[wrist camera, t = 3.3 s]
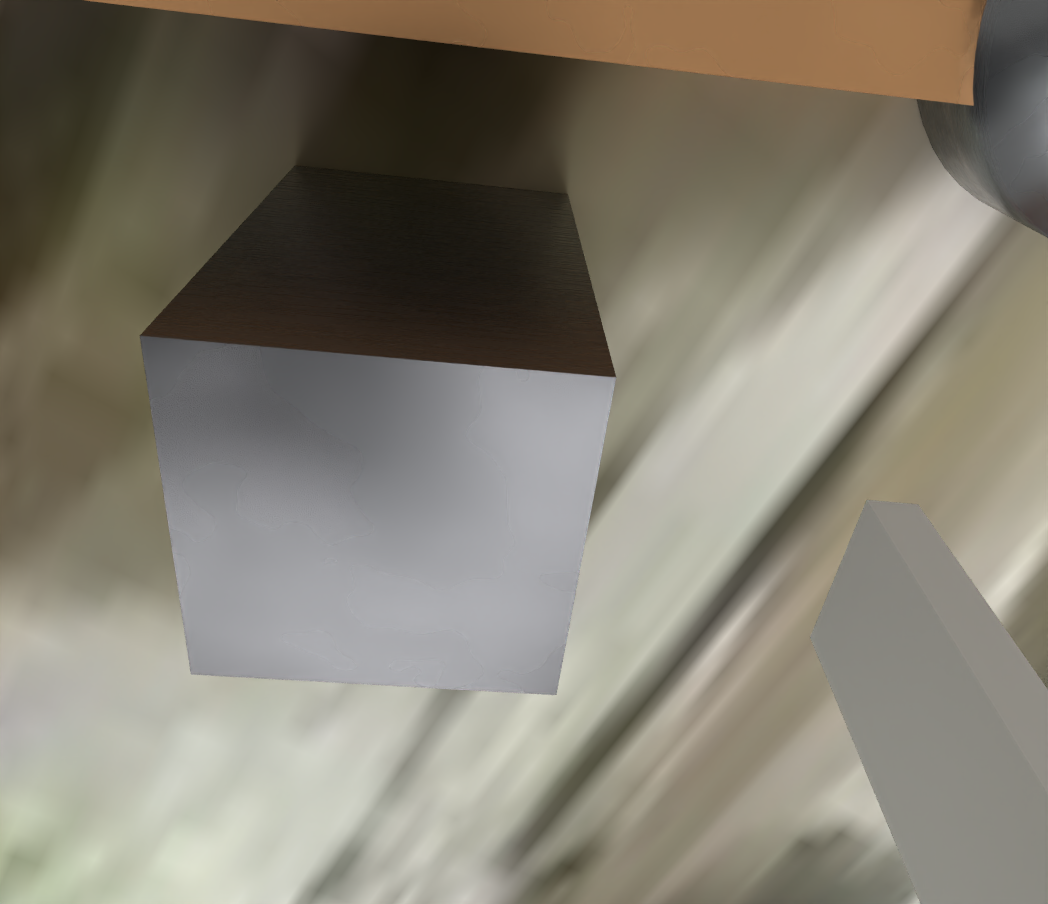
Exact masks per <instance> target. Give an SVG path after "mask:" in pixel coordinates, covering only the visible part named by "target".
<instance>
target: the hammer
mask: <svg viewBox="0 0 1048 904" xmlns="http://www.w3.org/2000/svg"><path fill="white" fill-rule="evenodd" d="M86 1H95V2H103V3H111V4H120V5H128V6H137V7H145V8H154V9H162V10H170V11H179V12H187V13H196V14H204V15H213V16H221V17H230V18H238V19H246V20H255V21H263V22H272V23H280V24H289V25H297V26H305V27H314V28H322V29H331V30H339V31H348V32H356V33H364V34H373V35H381V36H390V37H398V38H407V39H415V40H424V41H432V42H440V43H449V44H457V45H466V46H474V47H483V48H491V49H499V50H508V51H516V52H525V53H533V54H542V55H550V56H559V57H567V58H575V59H584V60H592V61H601V62H609V63H618V64H626V65H634V66H643V67H651V68H660V69H668V70H677V71H685V72H694V73H702V74H710V75H719V76H727V77H736V78H744V79H753V80H761V81H769V82H778V83H786V84H795V85H803V86H812V87H820V88H828V89H837V90H845V91H854V92H862V93H871V94H879V95H888V96H896V97H904V98H913V99H917V102H918V106H919V110H920V114H921V118H922V122H923V126H924V128H925V131H926V133H927V136H928V138H929V140H930V143H931V145H932V148H933V149H934V151H935V153H936V154H937V156H938V158H939V159H940V161H941V162H942V164H943V166H944V167H945V169H946V170H947V171H948V172H949V173H950V174H951V176H952V177H953V178H954V179H955V180H956V181H957V182H958V184H959V185H960V186H961V187H963V188H964V189H965V190H966V191H968V192H969V193H970V194H971V195H973V196H974V197H975V198H977V199H978V200H979V201H981V202H983V203H985V204H987V205H989V206H990V207H992V208H994V209H996V210H998V211H1000V212H1001V213H1003V214H1005V215H1007V216H1009V217H1011V218H1012V219H1014V220H1016V221H1018V222H1020V223H1022V224H1023V225H1025V226H1027V227H1029V228H1031V229H1033V230H1035V231H1036V232H1038V233H1040V234H1042V235H1044V236H1046V237H1047V238H1048V0H86Z"/></svg>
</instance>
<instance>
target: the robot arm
mask: <svg viewBox="0 0 1048 904" xmlns="http://www.w3.org/2000/svg"><path fill="white" fill-rule="evenodd" d="M810 638H811V641H812V643H813V646H814V648H815V650H816V653H817V655H818V658H819V660H820V662H821V665H822V667H823V670H824V672H825V674H826V677H827V679H828V682H829V684H830V687H831V689H832V691H833V694H834V696H835V699H836V701H837V703H838V706H839V708H840V711H841V713H842V715H843V718H844V720H845V723H846V725H847V728H848V730H849V732H850V735H851V737H852V740H853V742H854V744H855V747H856V749H857V752H858V754H859V756H860V759H861V761H862V764H863V766H864V768H865V771H866V773H867V776H868V778H869V781H870V783H871V785H872V788H873V790H874V793H875V795H876V797H877V800H878V802H879V805H880V807H881V809H882V812H883V814H884V817H885V819H886V822H887V824H888V826H889V829H890V831H891V834H892V836H893V838H894V841H895V843H896V846H897V848H898V850H899V853H900V855H901V858H902V860H903V862H904V865H905V867H906V870H907V872H908V875H909V877H910V879H911V882H912V884H913V887H914V889H915V891H916V894H917V896H918V899H919V901H920V903H921V904H1048V689H1047V688H1046V686H1045V685H1044V684H1043V682H1042V681H1041V679H1040V678H1039V676H1038V675H1037V674H1036V672H1035V671H1034V669H1033V668H1032V666H1031V665H1030V664H1029V662H1028V661H1027V659H1026V658H1025V656H1024V655H1023V654H1022V652H1021V651H1020V649H1019V648H1018V646H1017V645H1016V644H1015V642H1014V641H1013V639H1012V638H1011V636H1010V635H1009V634H1008V632H1007V631H1006V629H1005V628H1004V626H1003V625H1002V624H1001V622H1000V621H999V619H998V618H997V616H996V615H995V614H994V612H993V611H992V609H991V608H990V606H989V605H988V604H987V602H986V601H985V599H984V598H983V596H982V595H981V594H980V592H979V591H978V589H977V588H976V586H975V585H974V584H973V582H972V581H971V579H970V578H969V576H968V575H967V574H966V572H965V571H964V569H963V568H962V566H961V565H960V564H959V562H958V561H957V559H956V558H955V556H954V555H953V554H952V552H951V551H950V549H949V548H948V546H947V545H946V544H945V542H944V541H943V539H942V538H941V536H940V535H939V534H938V532H937V531H936V529H935V528H934V526H933V525H932V524H931V522H930V521H929V519H928V518H927V516H926V515H925V514H924V512H923V511H922V509H921V508H920V506H919V505H918V504H908V503H897V502H885V501H874V500H867V501H866V503H865V505H864V508H863V510H862V513H861V515H860V518H859V520H858V522H857V525H856V527H855V530H854V532H853V535H852V537H851V539H850V542H849V544H848V547H847V549H846V552H845V554H844V556H843V559H842V561H841V564H840V566H839V569H838V571H837V573H836V576H835V578H834V581H833V583H832V586H831V588H830V590H829V593H828V595H827V598H826V600H825V603H824V605H823V607H822V610H821V612H820V615H819V617H818V620H817V622H816V624H815V627H814V629H813V632H812V634H811V637H810Z"/></svg>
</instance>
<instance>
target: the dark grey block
mask: <svg viewBox="0 0 1048 904" xmlns="http://www.w3.org/2000/svg"><path fill="white" fill-rule="evenodd" d="M140 340H141V347H142V353H143V360H144V366H145V373H146V380H147V386H148V393H149V400H150V406H151V413H152V419H153V426H154V433H155V439H156V446H157V453H158V459H159V466H160V472H161V479H162V486H163V492H164V499H165V506H166V512H167V519H168V525H169V532H170V539H171V545H172V552H173V559H174V565H175V572H176V578H177V585H178V592H179V598H180V605H181V612H182V618H183V625H184V631H185V638H186V645H187V651H188V658H189V665H190V671H191V674H194V675H211V676H229V677H246V678H264V679H282V680H299V681H317V682H335V683H352V684H370V685H388V686H405V687H423V688H441V689H458V690H476V691H493V692H511V693H529V694H546V695H556V694H557V688H558V683H559V678H560V672H561V667H562V662H563V657H564V651H565V646H566V641H567V635H568V630H569V625H570V619H571V614H572V609H573V604H574V598H575V593H576V588H577V582H578V577H579V572H580V566H581V561H582V556H583V551H584V545H585V540H586V535H587V529H588V524H589V519H590V514H591V508H592V503H593V498H594V492H595V487H596V482H597V476H598V471H599V466H600V461H601V455H602V450H603V445H604V439H605V434H606V429H607V423H608V418H609V413H610V408H611V402H612V397H613V392H614V386H615V381H616V375H615V371H614V368H613V364H612V360H611V356H610V352H609V349H608V345H607V341H606V337H605V333H604V330H603V326H602V322H601V318H600V315H599V311H598V307H597V303H596V299H595V296H594V292H593V288H592V284H591V280H590V277H589V273H588V269H587V265H586V261H585V258H584V254H583V250H582V246H581V243H580V239H579V235H578V231H577V227H576V224H575V220H574V216H573V212H572V208H571V205H570V201H569V197H568V195H567V194H558V193H548V192H539V191H529V190H520V189H510V188H501V187H491V186H482V185H472V184H463V183H453V182H444V181H434V180H425V179H415V178H406V177H396V176H387V175H377V174H368V173H358V172H349V171H339V170H330V169H320V168H311V167H301V166H294V167H293V168H292V169H291V171H290V172H289V173H288V174H287V175H286V176H285V177H284V178H283V179H282V180H281V181H280V183H279V184H278V185H277V186H276V187H275V188H274V189H273V190H272V191H271V192H270V194H269V195H268V196H267V197H266V198H265V199H264V200H263V201H262V202H261V203H260V205H259V206H258V207H257V208H256V209H255V210H254V211H253V212H252V213H251V214H250V215H249V217H248V218H247V219H246V220H245V221H244V222H243V223H242V224H241V225H240V226H239V228H238V229H237V230H236V231H235V232H234V233H233V234H232V235H231V236H230V237H229V239H228V240H227V241H226V242H225V243H224V244H223V245H222V246H221V247H220V248H219V249H218V251H217V252H216V253H215V254H214V255H213V256H212V257H211V258H210V259H209V260H208V262H207V263H206V264H205V265H204V266H203V267H202V268H201V269H200V270H199V271H198V273H197V274H196V275H195V276H194V277H193V278H192V279H191V280H190V281H189V282H188V283H187V285H186V286H185V287H184V288H183V289H182V290H181V291H180V292H179V293H178V294H177V296H176V297H175V298H174V299H173V300H172V301H171V302H170V303H169V304H168V305H167V306H166V308H165V309H164V310H163V311H162V312H161V313H160V314H159V315H158V316H157V317H156V319H155V320H154V321H153V322H152V323H151V324H150V325H149V326H148V327H147V328H146V330H145V331H144V332H143V333H142V334H141V335H140Z"/></svg>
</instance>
